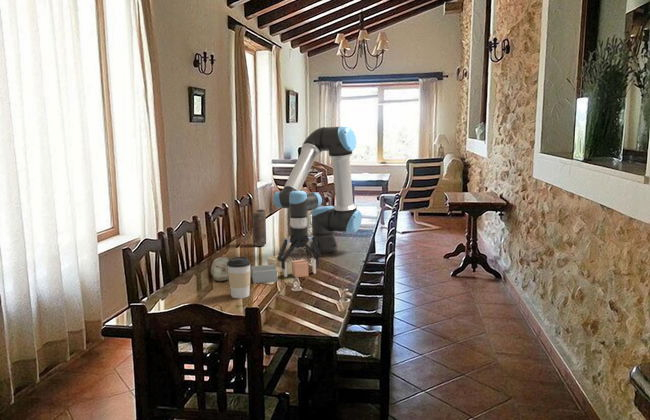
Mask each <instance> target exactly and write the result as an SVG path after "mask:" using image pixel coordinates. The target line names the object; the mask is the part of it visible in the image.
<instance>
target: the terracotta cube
mask: <svg viewBox="0 0 650 420" xmlns="http://www.w3.org/2000/svg"><path fill="white" fill-rule="evenodd" d="M290 263H291V264H290V265H291V275H292V276H293V277H294V278H301V277H309V276H310V275H309V262H308V261H307V260H306V259H296V260H291V262H290Z"/></svg>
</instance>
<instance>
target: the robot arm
mask: <svg viewBox="0 0 650 420" xmlns="http://www.w3.org/2000/svg"><path fill="white" fill-rule="evenodd" d="M356 146H357V137H356V135H355V132H354V131H353V129H352V128H350V127H348V126H330V127H327V126H326V127H325V126H322V127H319V128H317V129H315V130H314V131H312V132H311V133H310V134H309V135H308V136H307V137H306V138H305V140H304V141H303V143H302V145H301V152H300V154H299V156H298V157H297V160H296V162H295V164H294V166H293V168H292V170H291V172H290V174H289V176H288V179H287V180H286V183H285V184H284V186H283V188H282V190H281V191H276V192H275V193H274V194H273V197H272V198H273V199H272V201H273V204H274V206H275V207H276V208H281V209H289V226H290V228H289V235H290V236H289V237H290V238H285V237H284V238H283V239H282V245H281V247H280V250H279V252H278V255H277V256H278V257H277V260H278V261H281V267H282V269H284V271H283V276H284V277H285V278H287V277H288V268H287V267H288V262H287V259H288V258H289V256H290V255H291V253H292V252H293V250H295V249H303V248H305V249H306V250H308V252H309V253H310V254H311V255H312V257H311V258H312V259H311V260H312V261H311V262H312V263H311V265H312V273H313V274H314V275H315V274H317V267H318V264H319V260H318V259H319V258H322V257H323V255H322V254H324V253H332V252H333V253H334V252H336V251H338V247H339V246H338V243H337V240H336V236H335V232H337V233H344V234H345V233H346V234H353V233H354V234H355V233H357V232H358V231H359V229H360V227H361V224H362V212H361V211H360V210H358V209H357V205H356V204H355V203H354V197H353V185H352V173H351V161H350V159H351V158H350V157H351V156H352V155H353V151H354V150H355V149H356ZM322 152H328V157H330V158H331V160H332V170H333V171H332V172H333V181H334V193H335V203H336V204H335V205H323V206H321V205H322V203H323V199H322V196H321V195H320V193H318V192H316V191H313V192H311V191H310V192H306V191H305V190H301V189H302V188H303V185H304V184H305V181H306V179H307V178H308V175H309V173H310V170H311V168H312V166H313V164H314V163H315V160H316V158H317V157H319V156H320V154H321V153H322ZM309 211H311V216H310V217H311V233H312V234H311V236H309V235H308V232H309V231H308V227H307V226H308V212H309ZM308 242H309V245H308V244H307V243H308ZM288 244H290V245H289V247H288V249H287V246H288ZM286 249H287V250H286ZM285 260H286V261H285Z"/></svg>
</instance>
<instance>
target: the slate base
mask: <svg viewBox="0 0 650 420" xmlns="http://www.w3.org/2000/svg"><path fill="white" fill-rule="evenodd" d="M250 270H251V271H250V274H251V279H252V282H253V284H262V283H273V282H278V272H277V269H276V267H275V265H274V264H272V265H268V264H265V265H264V264H263V265H250Z"/></svg>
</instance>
